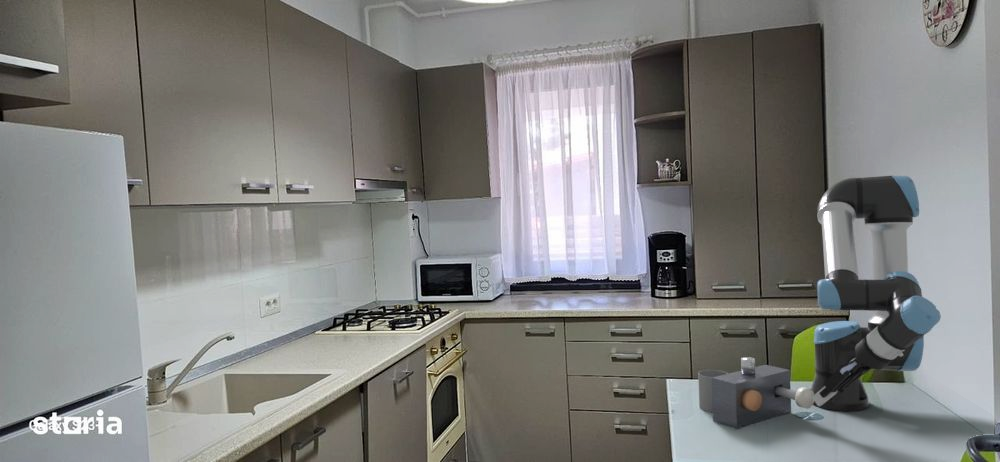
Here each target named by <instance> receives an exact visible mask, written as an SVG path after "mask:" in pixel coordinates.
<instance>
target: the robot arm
mask: <svg viewBox="0 0 1000 462" xmlns="http://www.w3.org/2000/svg"><path fill="white" fill-rule="evenodd" d="M816 210H817V211H816V213H817V215H816V217H817V221H818V223H819V224H820V225H821V234H822V249H823V264H824V265H823V266H824V278H823V279H819V280H818V281H817V282H816V283H817V285H816V286H817V305H818V307H819V308H820V309H822V310H831V311H868V312H869V311H872V312H873V315H872V316H871V317H870V318H869V319H868V320H867V327H864V326H862V327H861V325H860V323H859V322H858V321H853V320H852V321H851V320H850V321H849V320H840V321H839V320H837V321H829V322H825V323H821V324H818V325H817V326H816V328H815V329H814V337H813V338H814V339H813V344H814V368H815V369H814V371H815V372H814V373H815V374H814V377H813V381H812V384H811V388H810V389H811V390H813V392H814V396H813V397H811V398H812V399H813V400H814V403H813V406H816V407H819V408H822V409H826V410H833V411H839V412H840V411H841V412H842V411H843V412H851V411H852V412H854V411H855V412H857V411H861V410H866V409H868V408H869V406H870V405H869V396H868V393H867V391H866V388H865V386H864V383H863V380H862V377H863V376H864V375H865V374H867V373H868V372H870V371H871V370H875V371H876V370H877V371H896V372H899V373H900V372H914V371H915V372H916V371H917V370H918V369H919V368H920V366H921V363H922V360H923V355H924V345H925V340H924V339H925V338H924V337H925V335H926V334H928V333H930V332H931V330H932V329H933V328H935V326H936V325H937V324H938V323H939V322H940V321H941V313H940V310H939V309H937V306H936V305H935V304H934V303H933V302H932V301H931V300H929V299H927V298H925V297H924V296H923V293H922V288H921V285H920V283H919V281H918V279H917V278H916V277H915V275H913V274H912V273H910V272H909V263H908V262H909V260H908V256H909V255H908V234H907V233H908V232H907V231H908V229H909V228H910V227H911V226H912V225H913V223H914V218H916V217H919V215H920V203H919V197H918V191H917V188H916V184H915V182H914V180H913V179H912V178H911V177H910V176H907V175H893V174H891V175H883V176H882V175H881V176H868V177H867V176H866V177H848V178H845V179H842V180H839V181H838V182H836V183H834V184H833V185H831V186H830V187H829V188H828V189H827V190H826V191H825V192H824V194H823V195H822V197H820V200H819V202H818V203H817V209H816ZM856 219H863V220H864V226H865V227H867V228H868V229H869V230H870V236H871V237H870V238H871V243H870V244H871V262H872V263H871V264H872V265H871V268H872V279H859V270H858V262H857V251H856V243H855V242H856V241H855V236H854V235H855V234H854V233H855V232H854V224H853V223H854V221H855V220H856Z"/></svg>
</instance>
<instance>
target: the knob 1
mask: <svg viewBox="0 0 1000 462" xmlns="http://www.w3.org/2000/svg"><path fill="white" fill-rule="evenodd" d="M742 403H743V406H744V407H745V408H746V409H749V410H752V411H756V410H758V409H759V408H760V406H761V403H762V396H761V394H760V393H759V392H758V391H754V390H751V389H749V390H747V391H746V392H745V393H744V395H743V398H742Z"/></svg>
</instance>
